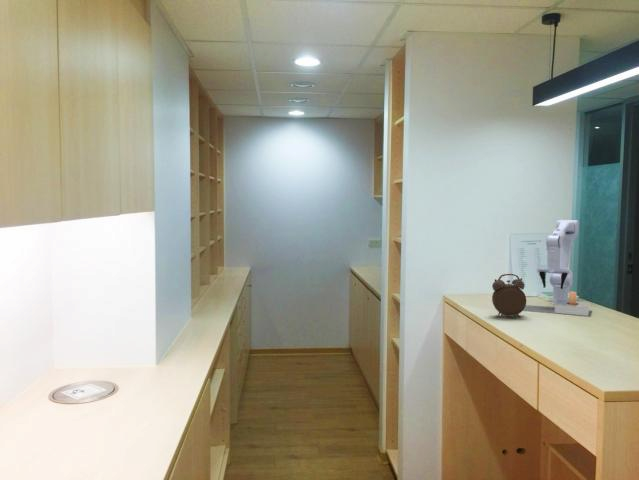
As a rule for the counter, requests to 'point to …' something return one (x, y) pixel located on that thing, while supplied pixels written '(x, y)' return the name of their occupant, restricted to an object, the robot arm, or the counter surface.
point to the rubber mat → (546, 310)
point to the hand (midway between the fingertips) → (553, 288)
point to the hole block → (572, 308)
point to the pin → (572, 298)
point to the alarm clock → (509, 296)
